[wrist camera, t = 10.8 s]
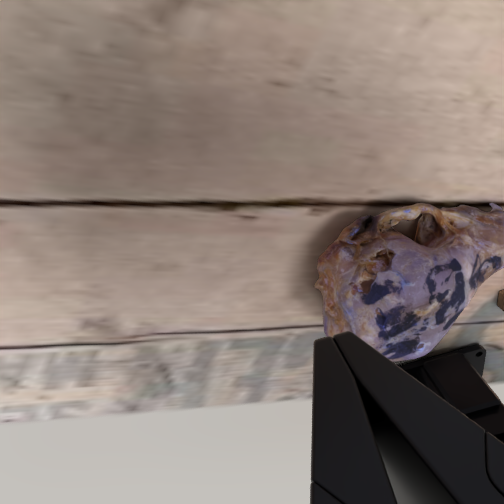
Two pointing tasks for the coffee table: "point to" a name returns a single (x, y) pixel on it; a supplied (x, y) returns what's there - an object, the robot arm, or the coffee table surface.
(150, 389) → the coffee table surface
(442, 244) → the skull
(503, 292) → the rail notch
